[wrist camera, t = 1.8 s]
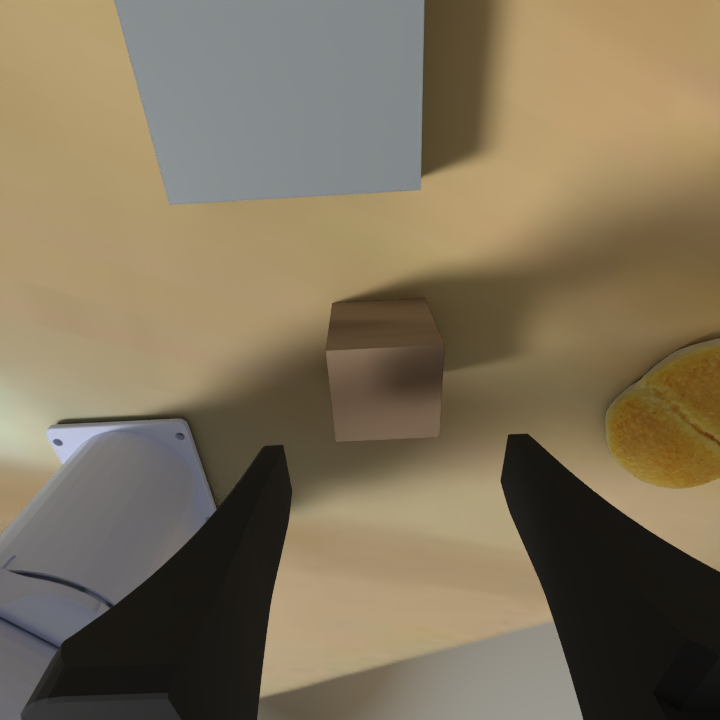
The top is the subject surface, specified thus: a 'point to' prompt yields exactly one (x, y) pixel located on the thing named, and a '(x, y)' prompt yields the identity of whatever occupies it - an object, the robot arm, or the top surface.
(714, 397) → the bread roll
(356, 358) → the walnut block
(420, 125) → the block
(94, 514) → the robot arm
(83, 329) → the top surface
